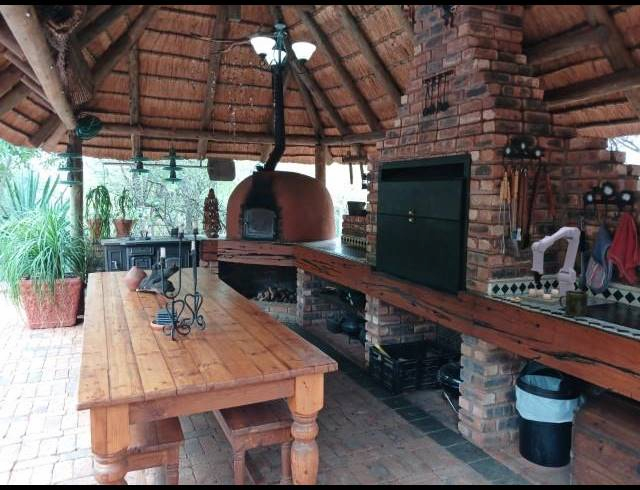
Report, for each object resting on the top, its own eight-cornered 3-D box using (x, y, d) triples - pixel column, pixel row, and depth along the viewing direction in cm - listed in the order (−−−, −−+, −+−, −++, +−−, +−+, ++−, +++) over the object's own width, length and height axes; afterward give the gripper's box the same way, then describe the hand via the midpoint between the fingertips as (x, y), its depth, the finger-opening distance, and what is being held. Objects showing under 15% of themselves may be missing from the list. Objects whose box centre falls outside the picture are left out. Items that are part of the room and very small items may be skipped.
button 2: (545, 300, 304) (545, 293, 304) (551, 302, 301) (552, 294, 301) (541, 301, 302) (542, 294, 301) (548, 302, 299) (548, 295, 298)
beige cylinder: (539, 296, 317) (539, 289, 316) (545, 297, 314) (545, 290, 313) (535, 297, 314) (535, 290, 314) (541, 298, 311) (542, 291, 311)
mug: (591, 316, 267) (592, 294, 266) (562, 316, 268) (563, 294, 267) (582, 311, 278) (583, 290, 276) (554, 311, 279) (555, 290, 278)
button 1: (553, 296, 309) (553, 289, 309) (559, 297, 306) (559, 290, 306) (549, 297, 307) (550, 289, 307) (556, 298, 304) (556, 290, 303)
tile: (512, 297, 317) (513, 296, 317) (526, 299, 310) (526, 298, 310) (504, 298, 311) (504, 297, 311) (518, 301, 304) (518, 300, 304)
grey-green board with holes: (536, 295, 322) (536, 292, 321) (567, 300, 306) (568, 297, 306) (519, 299, 310) (519, 296, 309) (550, 305, 294) (551, 301, 294)
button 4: (531, 295, 311) (531, 288, 311) (537, 296, 308) (537, 289, 307) (527, 296, 309) (528, 289, 308) (534, 297, 306) (534, 290, 305)
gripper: (527, 260, 314) (526, 281, 315) (534, 263, 299) (533, 285, 301) (539, 260, 313) (538, 281, 314) (547, 263, 298) (546, 286, 300)
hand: (537, 283), depth 307 cm, fingers closed
